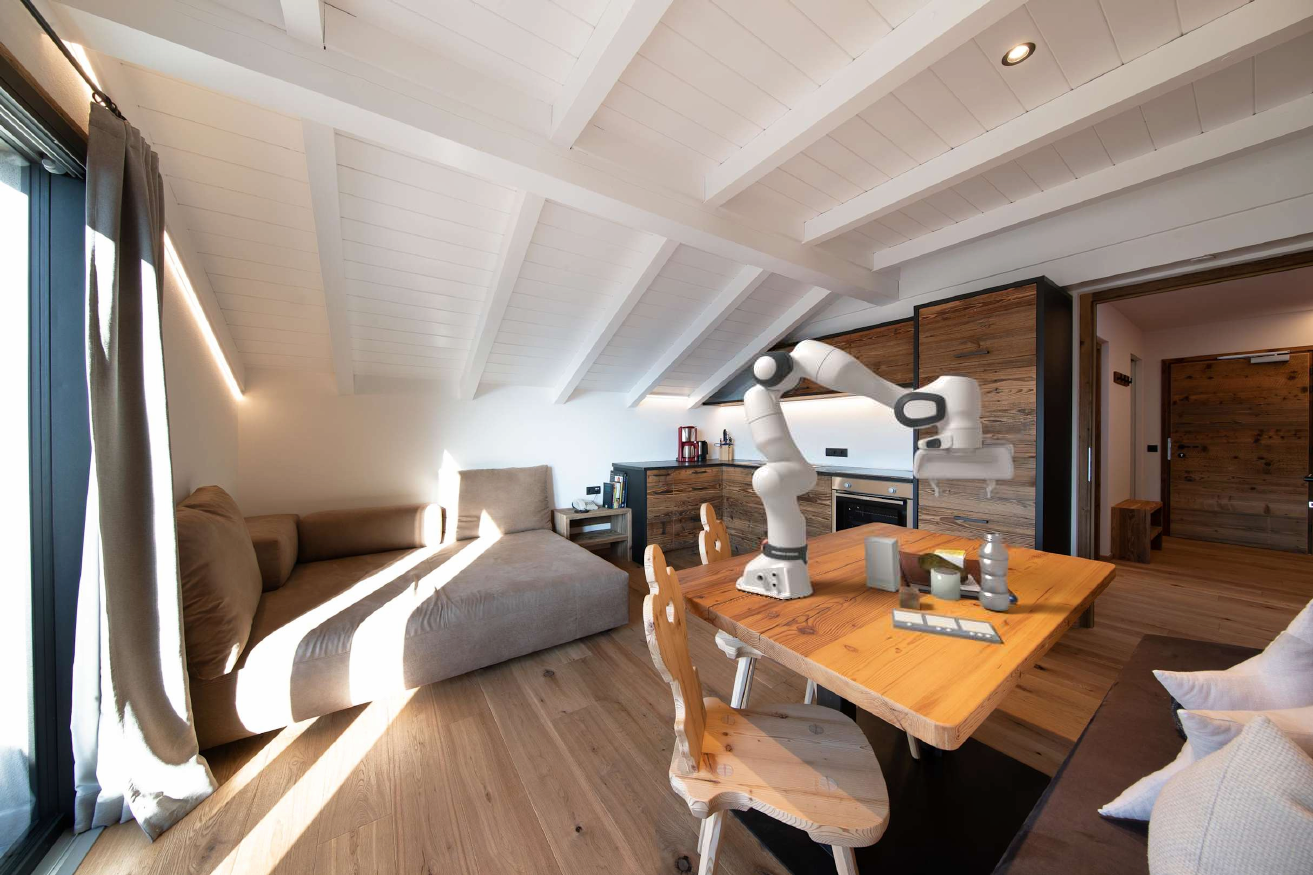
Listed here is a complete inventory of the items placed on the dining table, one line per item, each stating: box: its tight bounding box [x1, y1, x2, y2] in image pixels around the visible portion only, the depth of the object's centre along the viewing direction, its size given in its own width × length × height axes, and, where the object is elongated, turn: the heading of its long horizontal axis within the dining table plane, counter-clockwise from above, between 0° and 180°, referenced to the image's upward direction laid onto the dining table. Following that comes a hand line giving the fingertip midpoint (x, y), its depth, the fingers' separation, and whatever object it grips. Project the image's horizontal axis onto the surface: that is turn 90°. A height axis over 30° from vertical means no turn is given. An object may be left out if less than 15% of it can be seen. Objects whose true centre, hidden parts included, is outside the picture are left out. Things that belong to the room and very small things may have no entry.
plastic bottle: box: [977, 531, 1011, 612], centre depth 115 cm, size 6×7×20 cm
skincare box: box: [863, 535, 902, 593], centre depth 133 cm, size 8×6×15 cm
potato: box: [917, 552, 969, 584], centre depth 138 cm, size 8×13×8 cm, turn 34°
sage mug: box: [930, 568, 961, 602], centre depth 125 cm, size 7×7×7 cm
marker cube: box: [898, 585, 921, 611], centre depth 119 cm, size 4×4×4 cm
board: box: [891, 608, 1002, 645], centre depth 106 cm, size 21×10×1 cm, turn 64°
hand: (961, 497), depth 107 cm, fingers open, 8 cm apart
